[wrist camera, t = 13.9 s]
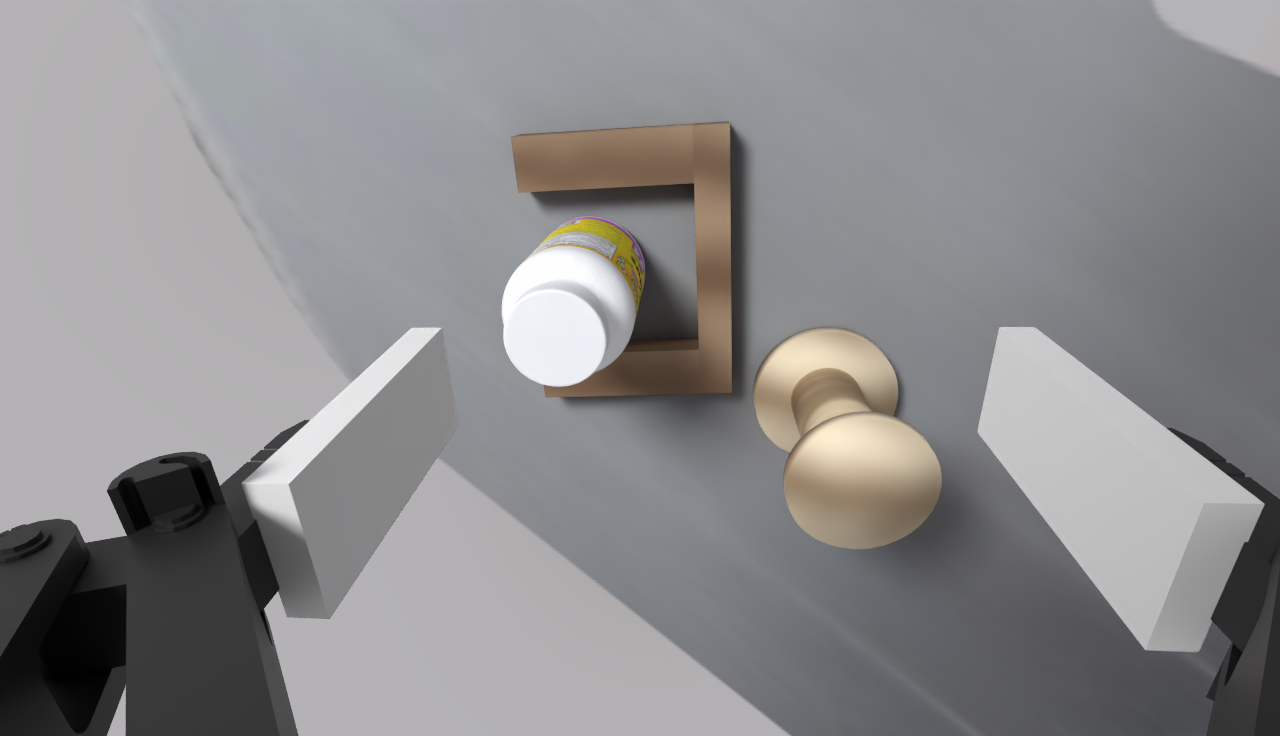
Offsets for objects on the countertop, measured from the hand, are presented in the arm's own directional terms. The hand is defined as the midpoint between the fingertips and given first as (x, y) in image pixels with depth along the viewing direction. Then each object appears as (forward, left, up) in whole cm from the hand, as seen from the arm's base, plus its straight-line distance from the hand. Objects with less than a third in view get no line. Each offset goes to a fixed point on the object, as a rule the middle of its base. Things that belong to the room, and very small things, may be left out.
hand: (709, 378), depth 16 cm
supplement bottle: (+4, -7, -25) cm, 26 cm away
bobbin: (+13, +8, -25) cm, 29 cm away
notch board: (+4, -4, -25) cm, 26 cm away
